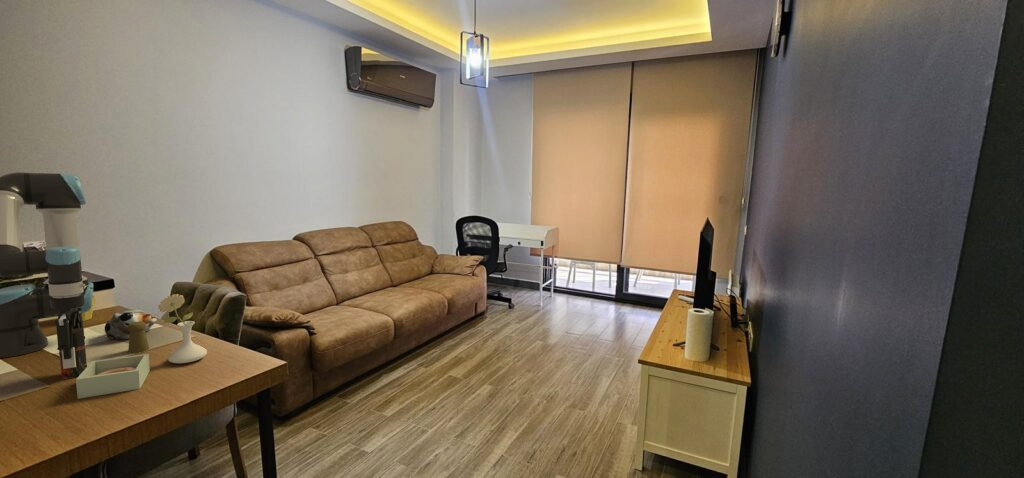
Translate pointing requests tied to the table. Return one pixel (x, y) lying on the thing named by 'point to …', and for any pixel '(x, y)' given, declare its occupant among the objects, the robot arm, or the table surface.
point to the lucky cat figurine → (127, 323)
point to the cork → (137, 337)
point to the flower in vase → (187, 348)
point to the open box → (113, 375)
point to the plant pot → (88, 314)
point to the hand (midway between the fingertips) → (73, 363)
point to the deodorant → (76, 356)
